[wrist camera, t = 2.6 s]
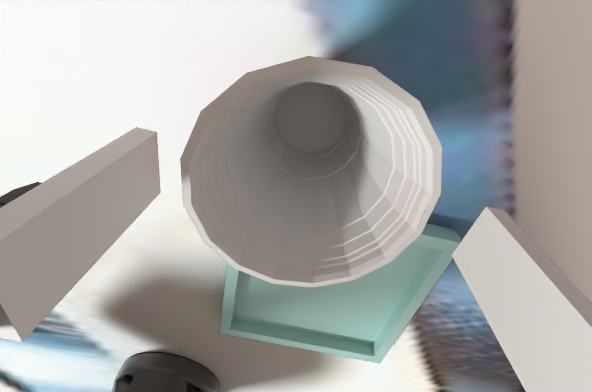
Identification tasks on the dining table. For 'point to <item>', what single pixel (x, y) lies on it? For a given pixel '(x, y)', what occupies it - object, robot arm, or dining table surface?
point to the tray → (340, 303)
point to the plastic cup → (311, 172)
